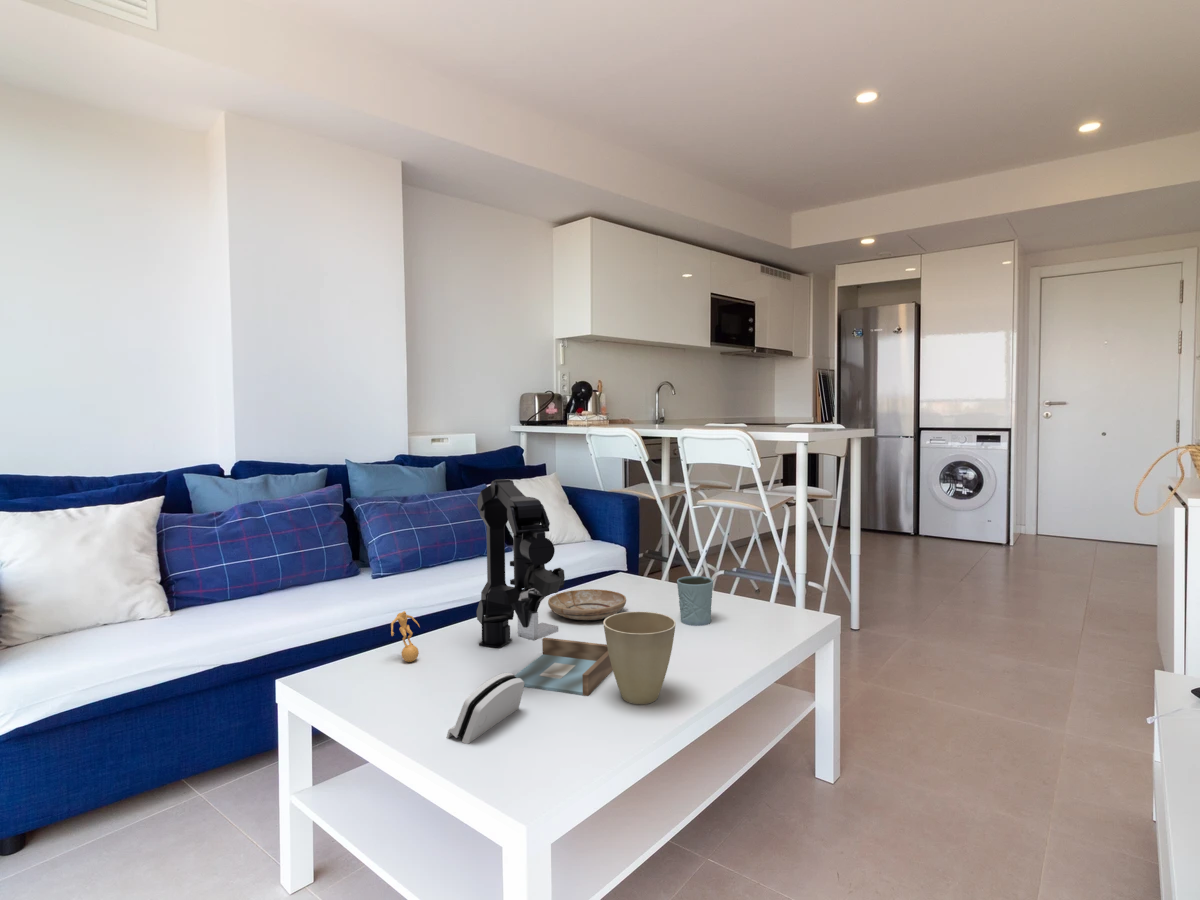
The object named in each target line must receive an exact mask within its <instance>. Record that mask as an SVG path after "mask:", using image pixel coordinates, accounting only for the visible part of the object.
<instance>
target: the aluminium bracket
mask: <svg viewBox="0 0 1200 900" xmlns="http://www.w3.org/2000/svg"><path fill="white" fill-rule="evenodd" d="M558 632H559V625H555V624H551V623H546V622H539V611H537V612H535V611H531V610H528V626H527V628H525V627H523V626H522V624H521V622H520V620H519V618H518V617H517V637H519V638H523V639H527V640H531V641H537V640H540V639H543V638H544V637H545V638H546V637H547V636H550V635H552V634H555V633H558Z"/></svg>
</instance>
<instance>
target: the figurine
mask: <svg viewBox="0 0 1200 900" xmlns="http://www.w3.org/2000/svg"><path fill="white" fill-rule="evenodd" d="M408 618H409V619H412V621H413V622H414V623H415V624H417V626H418V627H419V628H421V626H420V624H419V623H418V621H417V620H416V619H415V618H414V617H413V616H412V615H410V614H407V612H406V611H405V610H404V611H402V612H399V613H397V615H396V616H395V618H394V620H392V621H391V623H390V630H391V631H390V634H391V635H390V636H391V637H393V636H395V635H394V634H395V632H394V624H395V623H396V622H398V623H399V625H400V627H399V632H400V633H401V635H402V636H403V637H402V642H403V645H404V647H403V649H402V650H401V658H402V659H403V661H405V662H407V663H412V662H414V661H415V660H416V659H418V657H419V649H418V647H417V646H416V645H414V643H413V642H412V641H411V638H412V636H413V633H414V632H413V631H412V630H411V628H410V625H409V624H407V622H408ZM407 634H408V636H407ZM406 639H407V641H408V644H407V642H406Z"/></svg>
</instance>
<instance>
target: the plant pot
mask: <svg viewBox="0 0 1200 900" xmlns="http://www.w3.org/2000/svg"><path fill="white" fill-rule="evenodd" d="M602 623H603V630H604V635H605V643H606V645H607V648H608V653H609V657H610V661H611V665H612V669H613V670H612V672H613V675H614V678H615V682H616V684H617V688H618V690H619V693H620V695H621V698H622V700H623V701H625V702H627V703H630V704H632V705H633V704H634V705H648V704H651V703H654V702H655V701H657V699H658V698H659V694H660V693H661V689H662V688H663V687H662V686H663V685H664V681H665V678H666V675H667V672H668V667H669V664H670V659H671V657H672V656H671V655H672V650H673V644H674V639H675V633H676V632H675V631H676V626H677V625H676V620H675V619H674V618H673V617H670V616H669V615H666V614H663V613H658V612H653V611H625V612H618V613H616V614H614V615H611V616H609V617H607V618H604V620H603V622H602Z"/></svg>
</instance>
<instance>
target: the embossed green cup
mask: <svg viewBox="0 0 1200 900" xmlns="http://www.w3.org/2000/svg"><path fill="white" fill-rule="evenodd" d="M713 583H714V579H712V578H710V577H707V576H700V575H688V576H682V577H679V578H678V579H676V585H677V591H678V593H677V594H678V599H679V600H678V603H679V604H678V605H679V610H680V611H679V614H680V617H679V618H680V622H681V623H682V624H683V625H687V626H694V627H701V626H707V625H709V624H710V623H712V601H713V600H712V598H713V589H714V588H713V586H714V584H713Z"/></svg>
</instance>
